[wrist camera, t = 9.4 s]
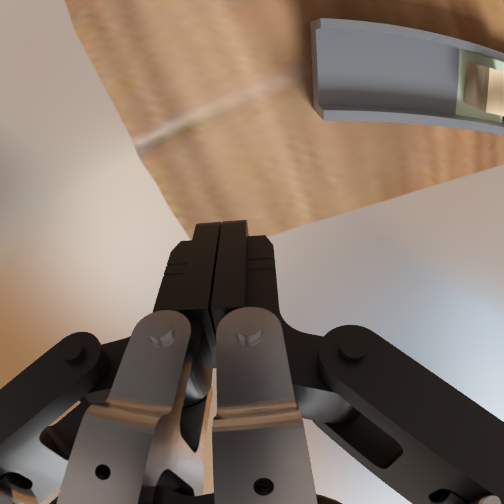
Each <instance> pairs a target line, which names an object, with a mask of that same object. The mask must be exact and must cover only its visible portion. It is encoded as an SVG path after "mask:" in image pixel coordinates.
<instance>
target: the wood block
mask: <svg viewBox="0 0 504 504" xmlns="http://www.w3.org/2000/svg"><path fill="white" fill-rule="evenodd" d="M463 102H464V103H467V104H469V105H471V106H473V107H475V108H478V109H480V110H482V111H484V112H487V113H491V114H496V115H500V116H504V72H502V71H499V70H496V69H493V68H489V67H486V66H482V65H478V64H474V63H470V62H466V70H465V87H464V99H463Z"/></svg>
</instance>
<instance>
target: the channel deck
mask: <svg viewBox="0 0 504 504" xmlns="http://www.w3.org/2000/svg"><path fill="white" fill-rule="evenodd" d="M310 35H311V55H312V79H313V109H314V110H315V111H316V112H317V114H318V115H319V116H320V117H321V118H322V119H323V120H347V121H380V122H399V123H413V124H425V125H435V126H444V127H453V128H461V129H468V130H475V131H482V132H488V133H494V134H500V135H504V116H500V115H496V114H491V113H487V112H484V111H482V110H480V109H478V108H475V107H473V106H471V105H469V104H467V103H464V102H463V99H464V87H465V70H466V62H470V63H474V64H478V65H482V66H486V67H489V68H493V69H496V70H499V71H502V72H504V53H502V52H499V51H496V50H493V49H490V48H487V47H484V46H481V45H478V44H475V43H471V42H468V41H464V40H461V39H457V38H453V37H450V36H446V35H441V34H437V33H433V32H428V31H424V30H419V29H413V28H408V27H402V26H396V25H390V24H383V23H375V22H367V21H357V20H345V19H330V18H319V19H316V20H314V21H311V22H310Z"/></svg>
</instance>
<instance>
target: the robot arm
mask: <svg viewBox="0 0 504 504" xmlns="http://www.w3.org/2000/svg"><path fill="white" fill-rule="evenodd" d="M213 368H217V415H216V416H215V417H214V419H213V426H212V444H213V446H212V447H213V476H214V493H212V494H206V495H202V493H203V486H204V478H205V476H204V475H205V470H204V463H203V450H204V444H205V438H206V431H207V425H208V418H209V413H210V407H211V400H212V393H213V391H212V386H211V382H212V370H213ZM77 401H80V402H81V403H80V404H79V405H78V406H77V407H76V408H74V409H73V410H72V411H71V412H69V413H68V414H67V415H66V416H65V417H63V418H62V419H61V420H60V421H59V422H57V423H56V424H55V425H52V426H48V425H50V424H51V423H52V422H53V421H55V420H56V419H57V418H58V417H59V416H61V415H62V414H63V413H64V412H65V411H66V410H68V409H69V408H70V407H71V406H73V405H74V404H75V403H76V402H77ZM302 418H305V419H310V420H313V422H314V423H315V424H316V425H317V426H318V427H319V428H320V429H321V430H322V431H323V432H324V433H326V434H327V435H328V436H329V437H330V438H331V439H332V440H334V441H335V442H336V443H337V444H338V445H339V446H341V447H342V448H343V449H344V450H346V451H347V452H348V453H349V454H350V455H351V456H352V457H354V458H355V459H356V460H357V461H359V462H360V463H361V464H362V465H363V466H365V467H366V468H367V469H368V470H370V471H371V472H372V473H373V474H375V475H376V476H377V477H378V478H380V479H381V480H382V481H383V482H385V483H386V484H387V485H389V486H390V487H391V488H393V489H394V490H395V491H397V492H398V493H399V494H401V495H402V496H403V497H405V498H406V499H407V500H408V501H410V502H412V503H413V504H504V422H503V421H501V420H500V419H498V418H497V417H496V416H494V415H493V414H491V413H489V412H488V411H487V410H485V409H484V408H482V407H481V406H480V405H478V404H477V403H475V402H474V401H473V400H471V399H470V398H468V397H467V396H465V395H464V394H462V393H461V392H460V391H458V390H457V389H455V388H454V387H452V386H451V385H449V384H448V383H447V382H445V381H444V380H442V379H441V378H439V377H438V376H437V375H435V374H434V373H432V372H431V371H429V370H428V369H426V368H425V367H424V366H422V365H421V364H419V363H418V362H416V361H415V360H413V359H412V358H411V357H409V356H407V355H406V354H405V353H403V352H402V351H400V350H399V349H397V348H396V347H395V346H393V345H392V344H390V343H389V342H387V341H386V340H384V339H383V338H382V337H380V336H379V335H377V334H376V333H374V332H373V331H371V330H369V329H367V328H365V327H362V326H357V325H345V326H340V327H337V328H335V329H332V330H331V331H329V332H328V333H327V334H326V335H325V336H324V337H322V336H317V335H312V334H307V333H303V332H300V331H297V330H296V329H294V328H292V327H290V326H289V325H288V324H287V323H286V322H285V321H284V320H283V318H282V316H281V314H280V311H279V302H278V291H277V281H276V270H275V259H274V249H273V244H272V243H271V242H270V241H269V239H268V238H267V237H266V236H265V235H262V236H249V235H248V226H247V220H238V221H224V222H222V223H221V222H212V223H200V224H196V227H195V231H194V235H193V239H192V240H191V241H181V242H180V243H179V244H178V245H177V246H176V247H175V248H174V249H173V250H172V252H171V253H170V257H169V260H168V263H167V267H166V270H165V272H164V277H163V279H162V283H161V286H160V289H159V293H158V296H157V299H156V303H155V306H154V310H153V313H151V314H149V315H147V316H145V317H144V318H143V319H141V320H140V321H139V322H138V323H137V325H136V326H135V328H134V330H133V332H132V335H131V336H130V337H128V338H125V339H122V340H118V341H114V342H110V343H107V344H102V345H101V344H100V342H99V341H98V339H97V338H96V337H95V336H94V335H93V334H91V333H88V332H77V333H73V334H71V335H69V336H67V337H65V338H64V339H62V340H61V341H60V342H59V343H57V344H56V345H55V346H54V347H52V348H51V349H50V350H49V351H47V352H46V353H45V354H43V355H42V356H41V357H40V358H38V359H37V360H36V361H35V362H33V363H32V364H31V365H30V366H28V367H27V368H26V369H25V370H24V371H22V372H21V373H20V374H19V375H17V376H16V377H15V378H14V379H12V381H10V382H9V383H8V384H6V385H5V386H4V387H3V388H2V389H0V504H40V503H41V502H42V501H43V500H44V499H46V498H47V497H48V496H50V495H51V494H52V493H53V492H55V491H56V490H57V489H58V488H59V487H61V488H60V492H59V496H58V497H56V498H55V499H54V500H53V501H52V502H51V503H50V504H342V503H340V502H338V501H336V500H333V499H331V498H327V497H325V496H322V495H317V494H316V492H315V486H314V481H313V475H312V469H311V463H310V458H309V452H308V446H307V441H306V436H305V430H304V425H303V420H302Z"/></svg>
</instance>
